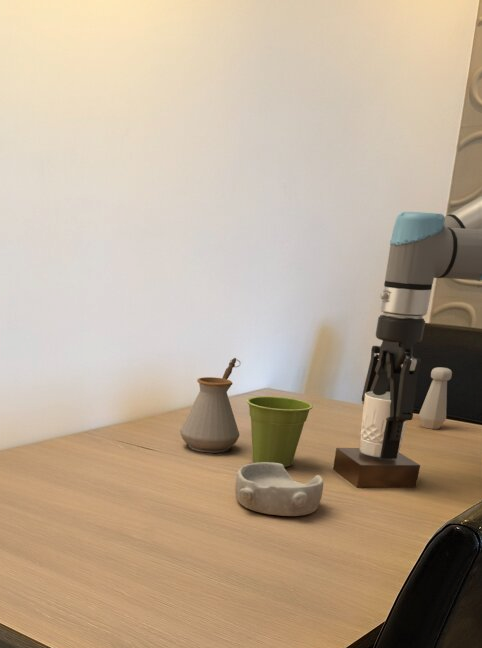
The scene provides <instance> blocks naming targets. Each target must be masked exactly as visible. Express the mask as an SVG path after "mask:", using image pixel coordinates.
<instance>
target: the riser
mask: <svg viewBox="0 0 482 648" xmlns="http://www.w3.org/2000/svg"><path fill="white" fill-rule="evenodd" d="M359 448H360V447H336V448H335V453H334V459H333V460H334V461H333V468H332V469H333V470H334V471H335V472H336V473H337V474H339V475H340V476H341V477H342V478H343V479H345V480H347V481H348V482H349V483H351V484H352V485H353V486H354V487H356V488H358V489H359V488H360V489H361V488H362V489H363V488H368V489H369V488H370V489H371V488H373V489H374V488H417V484H418V479H419V474H420V469H421V464H419V463H417V462H416V461H414V460H413V459H411V458H409V457H408V456H406V455H404V454H403V453H401V452H399V454H398V455H397V459H382V458H380V457H373V456H369V455H366V454H363V453H361V452H360V450H359Z"/></svg>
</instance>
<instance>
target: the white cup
mask: <svg viewBox="0 0 482 648" xmlns="http://www.w3.org/2000/svg"><path fill="white" fill-rule="evenodd" d="M390 404H391V400H390V391H386V393H385V394H383V395H375V394H374V393H373V391H371V392H367V393H365V399H364V402H363V409H362V416H361V428H360V441H359V447H358V448H359V450H360V452H361V453H363V454H366V455H369V456H373V457H380V455H381V450H382V444H383V439H384V433H385V428H386V422H387V421H386V418H388V417H390ZM407 423H408V420H407V421H404V423H403V428H402V433H401V438H400V443H399V449H398V454H399V453H400V450H401V446H402V441H403V439H404V436H405V431H406V427H407ZM398 454H397V455H398Z"/></svg>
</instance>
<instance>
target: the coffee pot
mask: <svg viewBox="0 0 482 648" xmlns="http://www.w3.org/2000/svg"><path fill="white" fill-rule="evenodd" d="M237 361H238V362H239V365H237V366H236V362H237ZM241 363H242V362H241V361H240V360H239V359H237V358H236V357H234V358H232V359H230V360H229V363H228V366H227V368H226V369H225V370H224V373H223V375H222V377H214V376H213V377H212V376H210V377H209V376H207V377H199V378H197V379H196V382H197V383H198V386H199V391H198V394H197V396H196V398H195V400H194V402H193V404H192V406H191V408H190V409H189V412H188V413H187V416H186V418H185V420H184V422H183V423H182V426H181V427H180V430H179V433H180V436H181V439H182V440H183V441H184V443H185V444H187V446H188V448H189V449H191V450H192V451H193V450H194V451H196V452H201V453H223V452H227V451H228V450H229V448H231V447H233V446H234V445H235V444H237V441H238V440H239V438H240V435H241V434H240V430H239V428H238V425H237V421H236V418H235V415H234V412H233V408H232V406H231V402H230V398H229V395H228V391H229V389H230V388H231V386H232V385H233V381H231V380H230V379H229V377H230V376H231V374H232V372H233V369H234V368H239V367H240V366H241Z"/></svg>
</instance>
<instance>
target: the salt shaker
mask: <svg viewBox="0 0 482 648" xmlns="http://www.w3.org/2000/svg"><path fill="white" fill-rule="evenodd" d="M452 375H453V372H452V370H451V369H450V368H448V367H440V366H439V367H434V368H432V370H431V372H430V378H431V379H432V380H431V383H430V386H429V388H428V391H427V393H426V396H425V399H424V401H423V404H422V406H421V408H420V411H419V413H418V418H419V422H420V426H421V427H422V428H425V429H430V430H439V429H441V427H442V425H444V423H445V421H446V420H447V402H448V400H447V399H448V397H447V396H448V381H450V380H451V379H452V377H453V376H452Z"/></svg>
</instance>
